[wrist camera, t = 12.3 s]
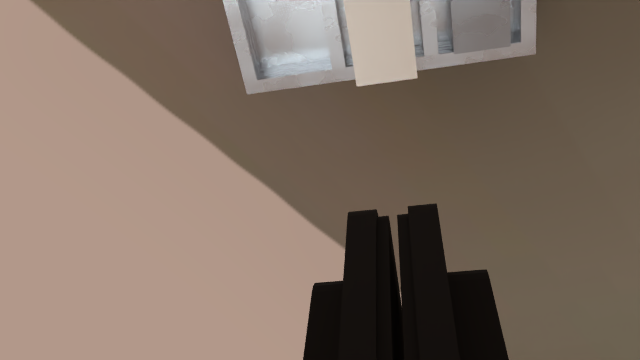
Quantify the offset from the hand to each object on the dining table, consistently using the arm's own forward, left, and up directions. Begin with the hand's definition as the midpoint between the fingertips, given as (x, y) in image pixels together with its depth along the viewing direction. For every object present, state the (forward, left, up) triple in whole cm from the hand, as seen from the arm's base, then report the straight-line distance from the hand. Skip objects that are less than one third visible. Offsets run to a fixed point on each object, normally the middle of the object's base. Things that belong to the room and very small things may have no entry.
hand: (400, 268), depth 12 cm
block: (0, 0, -26) cm, 26 cm away
